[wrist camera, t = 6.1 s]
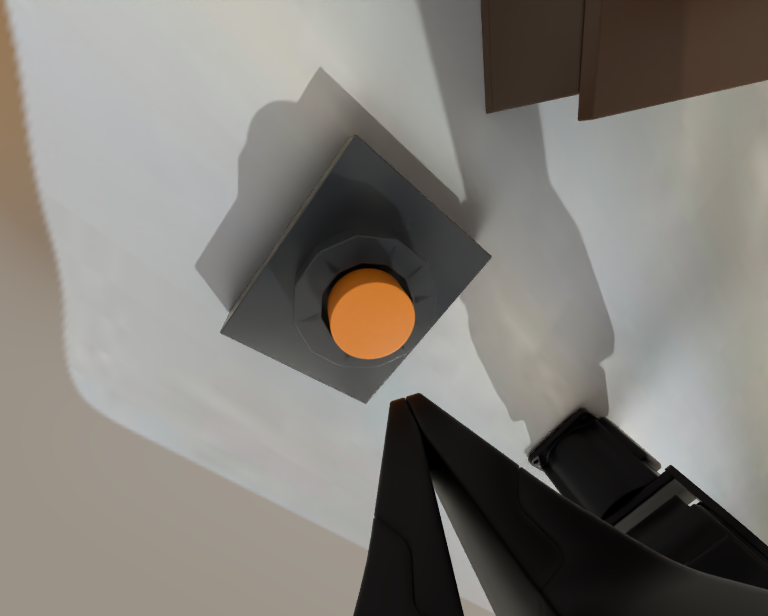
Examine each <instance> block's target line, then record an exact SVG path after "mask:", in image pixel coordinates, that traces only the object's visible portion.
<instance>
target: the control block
mask: <svg viewBox="0 0 768 616" xmlns="http://www.w3.org/2000/svg"><path fill="white" fill-rule="evenodd" d="M490 259H491V255H490V254H489V253H487V252H486V251H485V250H484V249H483V248H482V247H481V246H480V245H479V244H477V243H476V242H475V241H474V240H473V239H472V238H471V237H470V236H469V235H467V234H466V233H465V232H464V231H463V230H462V229H461V228H460V227H458V226H457V225H456V224H455V223H454V222H453V221H452V220H451V219H450V218H448V217H447V216H446V215H445V214H444V213H443V212H442V211H441V210H440V209H438V208H437V207H436V206H435V205H434V204H433V203H432V202H431V201H430V200H428V199H427V198H426V197H425V196H424V195H423V194H422V193H421V192H420V191H418V190H417V189H416V188H415V187H414V186H413V185H412V184H411V183H409V182H408V181H407V180H406V179H405V178H404V177H403V176H402V175H401V174H399V173H398V172H397V171H396V170H395V169H394V168H393V167H392V166H391V165H389V164H388V163H387V162H386V161H385V160H384V159H383V158H382V157H381V156H379V155H378V154H377V153H376V152H375V151H374V150H373V149H372V148H370V147H369V146H368V145H367V144H366V143H365V142H364V141H363V140H362V139H360V138H359V137H358V136H357V135H354V136H351V137H349V138H348V139H347V141H346V142H345V144H344V145H343V147H342V148H341V150H340V151H339V153H338V154H337V155H336V157H335V158H334V160H333V161H332V163H331V164H330V166H329V167H328V169H327V170H326V172H325V173H324V175H323V176H322V177H321V179H320V180H319V182H318V183H317V185H316V186H315V188H314V189H313V191H312V192H311V194H310V195H309V197H308V198H307V199H306V201H305V202H304V204H303V205H302V207H301V208H300V210H299V211H298V213H297V214H296V216H295V217H294V219H293V220H292V222H291V223H290V224H289V226H288V227H287V229H286V230H285V232H284V233H283V235H282V236H281V238H280V239H279V241H278V242H277V244H276V245H275V246H274V248H273V249H272V251H271V252H270V254H269V255H268V257H267V258H266V260H265V261H264V263H263V264H262V266H261V267H260V268H259V270H258V271H257V273H256V274H255V276H254V277H253V279H252V280H251V282H250V283H249V285H248V286H247V288H246V289H245V290H244V292H243V293H242V295H241V296H240V298H239V299H238V301H237V302H236V304H235V305H234V307H233V308H232V310H231V311H230V312H229V314H228V316H227V318H226V321H225V323H224V325H223V327H222V329H221V331H220V333H221V334H223V335H225V336H228V337H230V338H232V339H234V340H236V341H238V342H240V343H242V344H244V345H246V346H248V347H250V348H252V349H254V350H256V351H258V352H260V353H262V354H264V355H267V356H269V357H271V358H273V359H275V360H277V361H279V362H281V363H283V364H285V365H287V366H289V367H291V368H293V369H295V370H297V371H299V372H301V373H303V374H306V375H308V376H310V377H312V378H314V379H316V380H318V381H320V382H322V383H324V384H326V385H328V386H330V387H332V388H334V389H336V390H338V391H340V392H342V393H345V394H347V395H349V396H351V397H353V398H355V399H357V400H359V401H361V402H363V403H365V404H366V403H367V402H368V401H369V400H370V399H371V397H372V396H373V395H374V394H375V393H376V392H377V390H378V389H379V388H380V387H381V386H382V385H383V383H384V382H385V381H386V380H387V379H388V378H389V376H390V375H391V374H392V373H393V372H394V371H395V369H396V368H397V367H398V366H399V365H400V364H401V362H402V361H403V360H404V359H405V358H406V357H407V355H408V354H409V353H410V352H411V351H412V350H413V348H414V347H415V346H416V345H417V344H418V343H419V341H420V340H421V339H422V338H423V337H424V336H425V334H426V333H427V332H428V331H429V330H430V329H431V327H432V326H433V325H434V324H435V323H436V322H437V320H438V319H439V318H440V317H441V316H442V315H443V313H444V312H445V311H446V310H447V309H448V308H449V306H450V305H451V304H452V303H453V302H454V301H455V299H456V298H457V297H458V296H459V295H460V294H461V292H462V291H463V290H464V289H465V288H466V287H467V285H468V284H469V283H470V282H471V281H472V280H473V278H474V277H475V276H476V275H477V274H478V273H479V271H480V270H481V269H482V268H483V267H484V266H485V264H486V263H487V262H488V261H489V260H490ZM362 268H374V269H379V270H382V271H385V272H387V273H388V274H390V275H391V276H393V277H394V278H395V279H396V280H397V281H398V283H399V284H400V285H401V287H402V288H403V290H404V291H405V292H406V294H407V295H408V297H409V298H410V300H411V302H412V304H413V306H414V310H415V323H414V327H413V330H412V333H411V335H410V336H409V338H408V339H407V341H406V342H405V343H404V344H403V345H402V346H401V347H400V348H399V349H398V350H396V351H395V352H393V353H391V354H389V355H387V356H384V357H381V358H376V359H361V358H357V357H354V356H351V355H349V354H347V353H346V352H344V351H343V350H342V349H341V348H340V347H339V346H338V345H337V344H336V342H335V341H334V339H333V337H332V334H331V330H330V323H329V316H328V309H327V303H328V298H329V294H330V292H331V290H332V288H333V287H334V285H335V284H336V283H337V282H338V280H340V279H341V278H342V277H343V276H345V275H346V274H348V273H350V272H352V271H354V270H358V269H362Z"/></svg>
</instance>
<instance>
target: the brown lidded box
mask: <svg viewBox="0 0 768 616" xmlns="http://www.w3.org/2000/svg"><path fill="white" fill-rule="evenodd" d="M481 13H482V35H483V57H484V79H485V101H486V113H487V114H488V113H493V112H498V111H502V110H507V109H512V108H516V107H521V106H526V105H530V104H535V103H540V102H544V101H549V100H554V99H558V98H563V97H568V96H572V95H577V94H579V92H580V77H581V61H582V45H583V29H584V14H585V0H481Z"/></svg>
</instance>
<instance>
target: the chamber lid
mask: <svg viewBox="0 0 768 616" xmlns="http://www.w3.org/2000/svg"><path fill="white" fill-rule="evenodd" d="M765 80H768V0H585V14H584V29H583V45H582V61H581V77H580V92H579V108H578V121H585V120H593V119H598V118H602V117H606V116H611V115H615V114H620V113H624V112H628V111H633V110H637V109H642V108H646V107H650V106H655V105H659V104H664V103H668V102H673V101H677V100H681V99H686V98H690V97H695V96H699V95H703V94H708V93H712V92H717V91H721V90H725V89H730V88H734V87H739V86H743V85H748V84H752V83H756V82H761V81H765Z"/></svg>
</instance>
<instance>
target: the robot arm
mask: <svg viewBox="0 0 768 616" xmlns="http://www.w3.org/2000/svg"><path fill="white" fill-rule="evenodd" d="M528 461H529V462H530V464H531V465H532V466H534V467H536V468H538V469H540V470H542V471H544V472H545V474H546V475H547V476H548V478H549V479H550V480H551V482H552V483H553V484H554V486H555V487H556V488H557V490H558V491H559V492H560V494H559V493H557V492H556V491H554V490H553V489H552V488H550V487H549V486H547V485H546V484H544V483H543V482H541V481H540V480H539V479H537V478H536V477H534V476H533V475H532V474H530V473H529V472H528V471H526V470H525V469H523V468H522V467H520V468H519V465H518V464H516V463H515V462H514V461H512V460H511V459H510V458H508V457H507V456H505V455H504V454H503V453H501V452H500V451H499V450H497V449H496V448H495V447H493V446H492V445H490V444H489V443H488V442H486V441H485V440H484V439H482V438H481V437H479V436H478V435H477V434H475V433H474V432H473V431H471V430H470V429H469V428H467V427H466V426H464V425H463V424H462V423H460V422H459V421H458V420H456V419H455V418H453V417H452V416H451V415H449V414H448V413H447V412H445V411H444V410H442V409H441V408H440V407H438V406H437V405H436V404H434V403H433V402H432V401H430V400H429V399H427V398H426V397H425V396H423V395H422V394H420V393H417V394H414V395H410V396H407V397H406V399H405V398H400V399H397V400H394V401H392V402H391V403H390V408H389V415H388V422H387V429H386V436H385V443H384V450H383V457H382V464H381V471H380V478H379V485H378V492H377V499H376V507H375V514H374V516H375V518H374V519H373V526H372V533H371V539H370V545H369V551H368V557H367V562H366V567H365V571H364V575H363V580H362V584H361V588H360V592H359V596H358V600H357V603H356V607H355V611H354V615H353V616H464V614H463V610H462V605H461V601H460V597H459V592H458V588H457V584H456V580H455V576H454V571H453V567H452V563H451V559H450V554H449V550H448V546H447V542H446V537H445V533H444V529H443V525H442V521H441V516H440V512H439V508H438V504H437V499H436V495H435V491H436V493H437V495H438V497H439V499H440V501H441V503H442V505H443V507H444V509H445V511H446V513H447V515H448V517H449V519H450V522H451V524H452V526H453V528H454V530H455V532H456V534H457V536H458V538H459V540H460V542H461V544H462V546H463V548H464V551H465V553H466V555H467V557H468V559H469V561H470V563H471V565H472V567H473V569H474V571H475V573H476V575H477V577H478V579H479V582H480V584H481V586H482V588H483V590H484V592H485V594H486V596H487V598H488V600H489V602H490V604H491V606H492V608H493V611H494V613H495V615H496V616H768V546H767V545H766V544H765V543H763V542H762V541H761V540H760V539H759V538H758V537H757V536H755V535H754V534H753V533H752V532H751V531H750V530H748V529H747V528H746V527H745V526H744V525H743V524H741V523H740V522H739V521H738V520H737V519H735V518H734V517H733V516H732V515H731V514H730V513H728V512H727V511H726V510H725V509H724V508H722V507H721V506H720V505H719V504H718V503H716V502H715V501H714V500H713V499H712V498H710V497H709V496H708V495H707V494H706V493H704V492H703V491H702V490H701V489H700V488H698V487H697V486H696V485H695V484H694V483H692V482H691V481H690V480H689V479H688V478H686V477H685V476H684V475H683V474H682V473H680V472H679V471H678V470H677V469H676V468H674V467H673V466H672V465H669V466H668V467H667V468H666V469H665V470H666V471H665V472H663V473H662V474H661V475H660V474H659V473H658V472H657V471H658V470H659V469H660V468H661V464H660V463H659V462H658V461H657V460H656V459H654V458H653V457H652V456H651V455H650V454H649V453H648V452H646V451H645V450H644V449H643V448H642V447H641V446H640V445H638V444H637V443H636V442H635V441H634V440H633V439H632V438H630V437H629V436H628V435H627V434H626V433H625V432H624V431H622V430H621V429H620V428H619V427H618V426H616V425H615V424H614V423H612V422H611V421H610V420H608V419H607V418H606V417H600V418H597V417H596V416H595V415H593V414H592V413H590V412H589V411H588V410H586V409H585V408H581V409H579V410H578V411H577V412H576V413H575V414H573V415H572V416H571V417H570V418H569V419H568V420H567V421H566V422H565V423H564V424H563V425H562V426H561V427H560V428H559V429H558V430H557V431H556V432H555V433H554V434H552V435H551V436H550V437H549V438H548V439H547V440H546V441H545V442H544V443H543V444H542V445H541V446H540V447H539V448H538V449H537V450H536V451H535V452H534V453H533V454H531V455H530V457H529V458H528ZM433 486H434V487H433ZM434 488H435V491H434ZM695 499H697V500H699V501H700V502H699V503H697V504H693V505H692V506H690V507H689V506H688V504H690V503H691V502H692V501H694V500H695Z"/></svg>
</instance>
